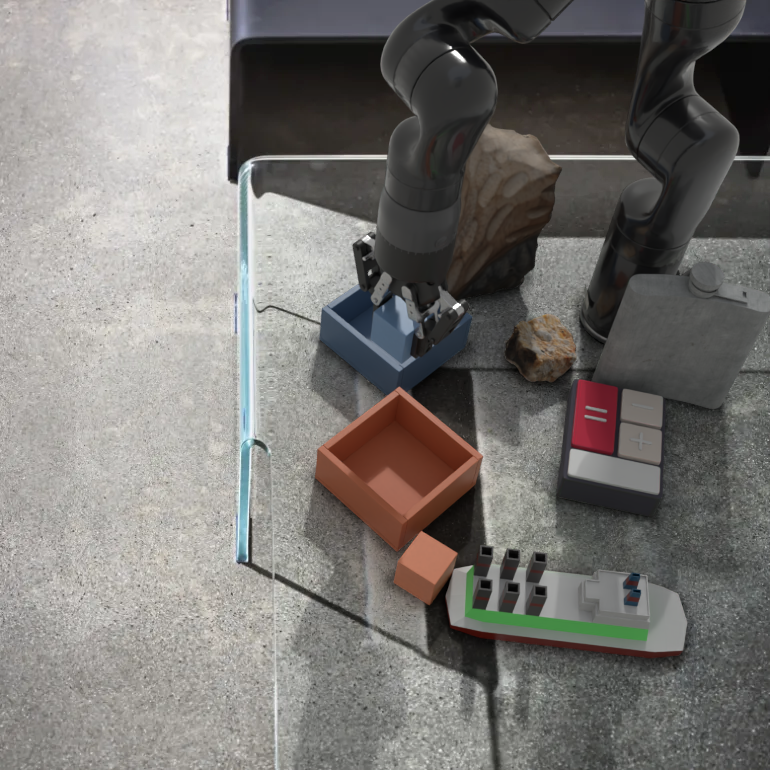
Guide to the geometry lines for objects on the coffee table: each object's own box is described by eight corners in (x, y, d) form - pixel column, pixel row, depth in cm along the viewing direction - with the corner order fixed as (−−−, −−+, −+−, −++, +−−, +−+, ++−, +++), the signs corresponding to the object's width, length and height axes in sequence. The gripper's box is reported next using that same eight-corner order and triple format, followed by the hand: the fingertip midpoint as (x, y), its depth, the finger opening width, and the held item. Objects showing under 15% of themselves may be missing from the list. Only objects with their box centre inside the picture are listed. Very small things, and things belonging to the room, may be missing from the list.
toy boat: (446, 565, 122) (457, 526, 115) (681, 593, 122) (704, 556, 116) (442, 633, 117) (453, 597, 111) (687, 662, 117) (711, 627, 111)
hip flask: (591, 392, 138) (635, 277, 122) (591, 366, 140) (634, 250, 125) (723, 410, 138) (784, 298, 122) (720, 384, 140) (780, 270, 125)
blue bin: (391, 288, 145) (396, 257, 141) (466, 346, 140) (473, 316, 136) (319, 339, 139) (321, 308, 135) (394, 402, 134) (398, 372, 130)
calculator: (668, 392, 134) (664, 495, 124) (657, 416, 137) (653, 518, 127) (574, 373, 135) (564, 474, 125) (566, 397, 138) (555, 497, 128)
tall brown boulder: (426, 231, 152) (446, 110, 136) (519, 230, 154) (550, 109, 138) (440, 304, 144) (464, 184, 129) (538, 301, 146) (573, 182, 130)
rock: (541, 399, 137) (600, 350, 140) (535, 366, 132) (596, 316, 135) (491, 364, 142) (549, 318, 145) (484, 331, 138) (544, 284, 141)
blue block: (399, 317, 123) (403, 289, 119) (430, 341, 121) (435, 313, 118) (370, 339, 121) (373, 311, 117) (401, 364, 119) (405, 336, 115)
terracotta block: (416, 552, 122) (421, 530, 119) (452, 574, 121) (458, 553, 118) (392, 582, 120) (397, 561, 116) (429, 606, 119) (435, 585, 115)
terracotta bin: (394, 415, 133) (399, 386, 129) (475, 484, 128) (483, 456, 124) (314, 477, 127) (317, 448, 122) (397, 552, 122) (402, 524, 118)
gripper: (502, 243, 106) (475, 359, 120) (389, 163, 112) (376, 283, 125) (448, 284, 103) (427, 398, 116) (334, 199, 108) (326, 318, 122)
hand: (400, 338), depth 121 cm, fingers closed on blue block, 4 cm apart
